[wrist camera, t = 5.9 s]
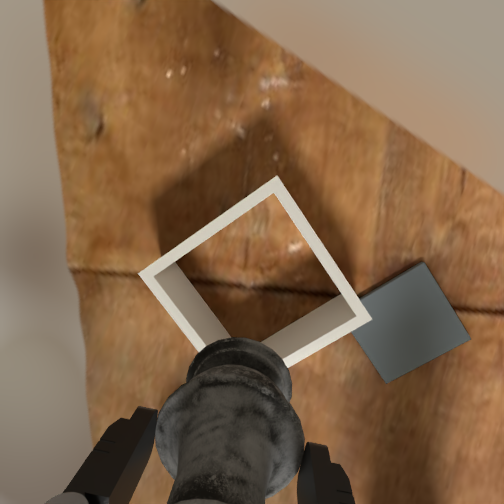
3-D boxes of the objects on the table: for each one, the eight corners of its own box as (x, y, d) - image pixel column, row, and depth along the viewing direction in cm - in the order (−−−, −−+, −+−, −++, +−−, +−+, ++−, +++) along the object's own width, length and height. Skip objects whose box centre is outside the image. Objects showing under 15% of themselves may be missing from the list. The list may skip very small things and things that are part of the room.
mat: (468, 336, 33) (471, 339, 33) (384, 381, 35) (386, 383, 35) (422, 261, 32) (424, 262, 32) (337, 311, 34) (338, 313, 33)
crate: (355, 295, 33) (372, 319, 27) (240, 363, 36) (234, 398, 30) (276, 176, 31) (277, 175, 25) (161, 258, 34) (138, 273, 28)
